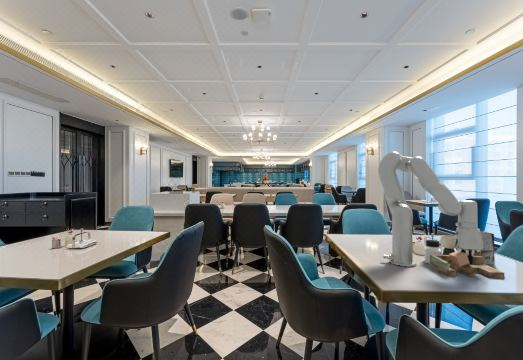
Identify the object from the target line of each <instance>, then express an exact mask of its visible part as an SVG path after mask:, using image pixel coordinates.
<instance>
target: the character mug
mask: <svg viewBox="0 0 523 360" xmlns="http://www.w3.org/2000/svg"><path fill="white" fill-rule="evenodd" d="M439 244H441V248H443V249H442V255H449V254H450V253H453V252H456V251H455V250H456V246H455V235H448V234H441V235H440V238H439Z"/></svg>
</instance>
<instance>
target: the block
mask: <svg viewBox="0 0 523 360" xmlns="http://www.w3.org/2000/svg"><path fill="white" fill-rule="evenodd" d="M449 256H450V259H451V261H452V264H455V265H457V266H459V267H461V266H464V265H466V264H469V263H470V262H469V260H468V257H467V254H466V253H463V252H461V251H457V250H456V251H455V252H453V253H450V254H449Z"/></svg>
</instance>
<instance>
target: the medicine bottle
mask: <svg viewBox="0 0 523 360" xmlns="http://www.w3.org/2000/svg"><path fill="white" fill-rule="evenodd" d="M430 255H442V250H441V248H440V240H437V239H431V238H430V239H426V240H425V247H424V263H425V264H430Z"/></svg>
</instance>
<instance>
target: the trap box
mask: <svg viewBox="0 0 523 360" xmlns="http://www.w3.org/2000/svg"><path fill="white" fill-rule="evenodd" d="M429 267H430V268H433V270H436V271H438V272H439V273H440V274H442V275H444V276H445V277H456V275H457V273H462V274H464V275H465V276H468V277H470V278H475V277H476V274H481V275H483V276H485V277H487V278H490V279H505V272H504V271H501V270H499V269H496V268H494V267H491V266H490V265H488V264H483V257H482V256H473V262H472V264H466V265H464V266H461V267H459V266H457V265H455V264H452V261H451V259H450V256H449V255H443V254H441V255H430V263H429Z"/></svg>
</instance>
